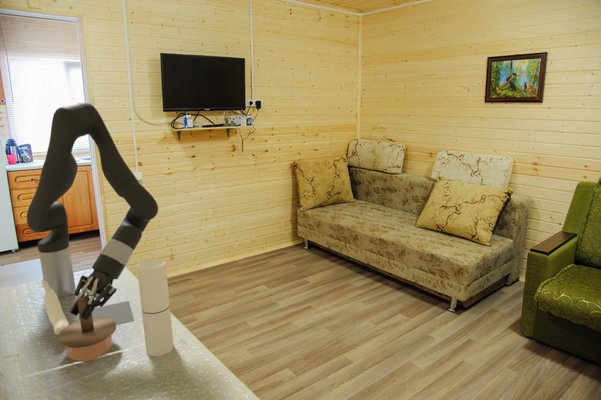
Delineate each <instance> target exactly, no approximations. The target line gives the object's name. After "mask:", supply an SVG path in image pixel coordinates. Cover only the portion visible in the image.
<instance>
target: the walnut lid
mask: <svg viewBox="0 0 601 400" xmlns="http://www.w3.org/2000/svg"><path fill="white" fill-rule="evenodd" d="M89 299H90V297H85V296H84V297H82V298H79V299H78V300H77V299H76V301H77V303H78V310H79V314H78V317H79V316H80V314H81V313H82V311H83V309H84V308H85V306H86V304H88V302H89ZM116 329H117V325H116V322H115V321H114V320H113V319H112V318H109V317H92V313H91V315H90V317H89V318H88V319H87V320H84V319H82V318H80V320H79V319H78V320H76V321H74V322H72V323H69V325H68V326H67V327H65V328H64V329H63V330H62V331H61V332H60V333H59V335H58V342H59V344H60V345H61V346H63V347H65V348H66V347H71V348H78V347H86V346H90V345H93V344H96V343H99V342H101V341H103V340H105V339H107V338H108V337H110V336H111V337H112V335H113V334H114V333H115V332H116Z"/></svg>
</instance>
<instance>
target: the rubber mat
mask: <svg viewBox="0 0 601 400" xmlns="http://www.w3.org/2000/svg"><path fill="white" fill-rule="evenodd" d="M78 317H79V316H78ZM92 317H109V318H112V319H113V320H114V321H115V322H116V326H118V325H123V324H126V323H132V322H135V318H134V315H133V311H132V308H131V304H130V301H129V300H127V301H121V302H116V303H112V304H107V305H103V306H102V307H100V306H98V307H95V308H94V310H93V312H92ZM79 320H80V317H79V319H78V321H79Z"/></svg>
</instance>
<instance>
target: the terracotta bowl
mask: <svg viewBox="0 0 601 400" xmlns="http://www.w3.org/2000/svg"><path fill="white" fill-rule="evenodd" d="M112 346H113V339H112V335H111V336H110V337H108V338H107V339H105V340H103V341H101V342H99V343H96V344H93V345H90V346H86V347H78V348H71V347H65V348H66V354H67V355H66V356H67V358H69V359H71V360H73V361H76V362H77V363H78V362H84V363H85V362H88V361H92V360H96V359H99V358H100V357H102V356H104V355H105V354H106V352H108V351H109V350H110V348H111V347H112Z"/></svg>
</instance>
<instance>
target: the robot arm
mask: <svg viewBox="0 0 601 400" xmlns="http://www.w3.org/2000/svg"><path fill="white" fill-rule="evenodd" d="M50 126H51V128H50V135H49V136H50V137H49V143H48V147H47V151H46V155H45V159H44V162H43V164H42V168H41V172H40V176H39V179H38V180H39V182H38V184H37V187H36V191H35V193H34V194H33V195H34V196H33V198H32V199H31V201H30V205H29V206H28V208H27V212H26V223H27V226H28V228H29V229H30V231H32V232H35V233H44V232H48V231H50V232H49V233H47V235H45V237H44V238H42V239H41V240H39V241H38V242H37V251H38V255H39V256H38V257H39V261H40V266H41V272H42V273H41V275H42V277H43V279H42V280H45V281H46V282H48V285H49V287H50V288H51V289H52V290H54V292H55V293H56V295H57V297H58V299H62V298H67V297H69V296H72V295H74V296H75V297H76V301H75V302H74V304H73V306H72V307H71V309H70V311H69V314H71V315H73V316H77V317H80V318H82V319H84V320H87V319H88V318H89V317H90V315H91V313H92V312H93V310H94V308H97V307H102V306H105V304H106V303H107V302H109V300H110V299H111V298H112V297H113V295H114V294H115V293H116V292H117V291H118V289H117V288H116V287H115V286H113V282H114V281H115V280H118V279H119V278H120V276H121V274H122V272H123V271H124V269H125V267H126V265H128V263H129V260H130V259H131V257H132V255H133V253H134V251H135V249H136V248H137V246H138V244H139V243H140V241H141V238H142V235H143V232H144V231H145V229H146V228H147V226H148V225H149V223H150V221H151V220H153V219H154V218H155V217H156V216H157V215H158V212H159V205H158V203H157V201H156V199H155V198H154V196H153V195H152V194H151V193H150V192H149V191H148V190H147V189H146V188H145V187H144V186H143V185H142V184H141V183H140V182H139V180H138V178H137V177H136V176H135V174H134V173H133V171H132V170H131V169H130V167H129V166H128V165H127V163H126V161H125V160H124V158H123V157H122V155H121V153H120V151H119V150H118V147H117V146H116V144H115V142H114V139H113V138H112V135H111V134H110V131H109V130H108V127H107V126H106V124H105V121H104V120H103V118H102V116H101V114H100V112H99V111H98V110H97V109H96V107H95V106H94V105H93V104H91V103H89V102H86V101H79V102H75V103H70V104H66V105H63V106H60V107H58V108H57V109H56V110H55V112H54V114H53V117H52V120H51V125H50ZM87 135H88V136H89V137H91V139H92V140H93V142H94V143H95V144H96V147H97V150H98V153H99V159H100V164H101V165H100V166H101V170H102V174H103V175H104V178H105V180H106V181H107V182H108V184H109V185H110V186H111V188H112V189H113V191H114V192H115V193H116V195H117V196H119V197H120V198H122V199H124V200H125V202H126V203H127V204H128V206H129V207H130V208H129V209H128V210H127V213H126V214H125V216H124V218H123V220H122V222H121V223H120V225H119V227H118V228H117V229H116V231H114V233H113V235H112V237H111V238H110V240H108V242H107V243H106V245H105V246H104V248H103V249H102V251H101V252H100V254H99V255H98V257H97V259H95V261H94V263H93V265H92V269H93V271H92V273H90V274H89V276H85V275H81V276H80V278H79V280H78V283H77V286H76V284H75V283H76V282H75V275H74V269H73V263H72V262H73V261H72V257H71V256H72V255H71V249H70V244H69V241H70V234H69V232H70V231H69V222H68V221H69V220H68V214H67V209H66V207H65V206H64V205H63V203H62V202H60V201H59V199H61V198H62V197H63V196H64V195H65V194H66V193H67V192H68V191H69V190H70V189H71V188H72V186H73V184H74V182H75V179H76V177H77V173H78V168H79V167H78V163H77V160H76V159H75V157H74V155H73V153H72V152H73V148H74V145H75V142H76V141H77V139H79V138H81V137H84V136H87ZM44 291H45V293H46V290H45V289H44ZM82 297H89V298H90V299H89V302H88V304H86V306H85V308H84V309H83V311H82V313H81V314H80V316H79V310H78V303H77V300H78V299H79V298H82Z"/></svg>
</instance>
